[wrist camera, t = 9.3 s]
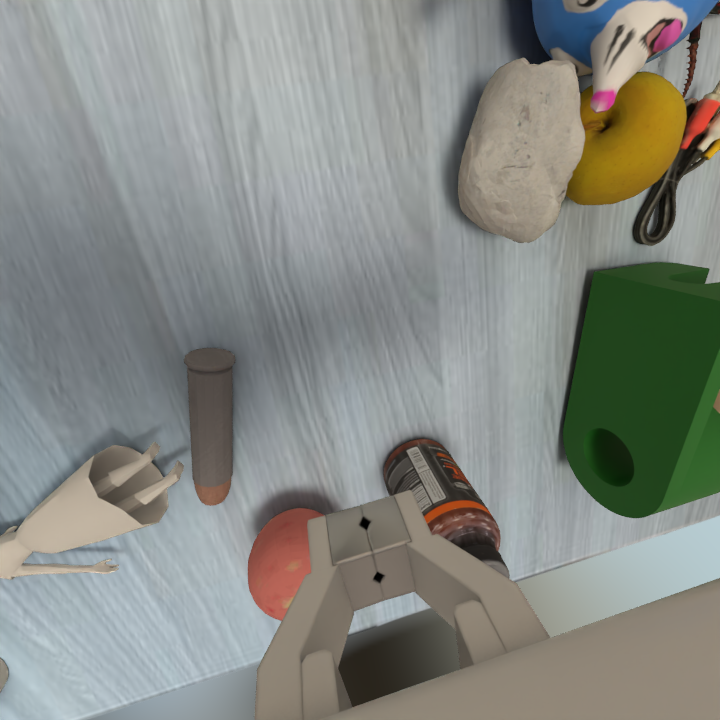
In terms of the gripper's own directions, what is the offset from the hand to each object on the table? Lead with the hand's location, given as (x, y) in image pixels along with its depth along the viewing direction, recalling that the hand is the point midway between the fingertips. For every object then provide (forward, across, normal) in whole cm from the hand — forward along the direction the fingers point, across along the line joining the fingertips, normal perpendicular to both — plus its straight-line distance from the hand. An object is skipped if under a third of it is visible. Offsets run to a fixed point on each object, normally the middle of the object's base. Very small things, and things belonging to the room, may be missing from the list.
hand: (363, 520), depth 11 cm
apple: (+17, +5, +16) cm, 24 cm away
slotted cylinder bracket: (+12, -20, +9) cm, 25 cm away
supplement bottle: (+17, -6, +14) cm, 22 cm away
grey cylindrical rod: (+17, +8, +5) cm, 19 cm away
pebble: (+14, -15, -8) cm, 22 cm away
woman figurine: (+14, +11, +5) cm, 19 cm away
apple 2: (+15, -22, -6) cm, 27 cm away
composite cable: (+17, -26, -6) cm, 32 cm away
